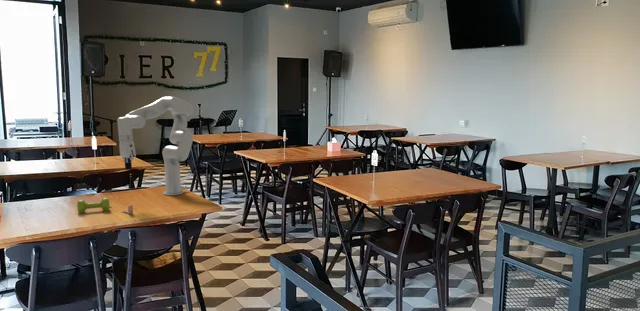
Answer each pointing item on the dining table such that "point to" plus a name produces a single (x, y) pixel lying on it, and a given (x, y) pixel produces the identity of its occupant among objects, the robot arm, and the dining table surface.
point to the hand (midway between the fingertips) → (128, 168)
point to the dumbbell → (93, 205)
